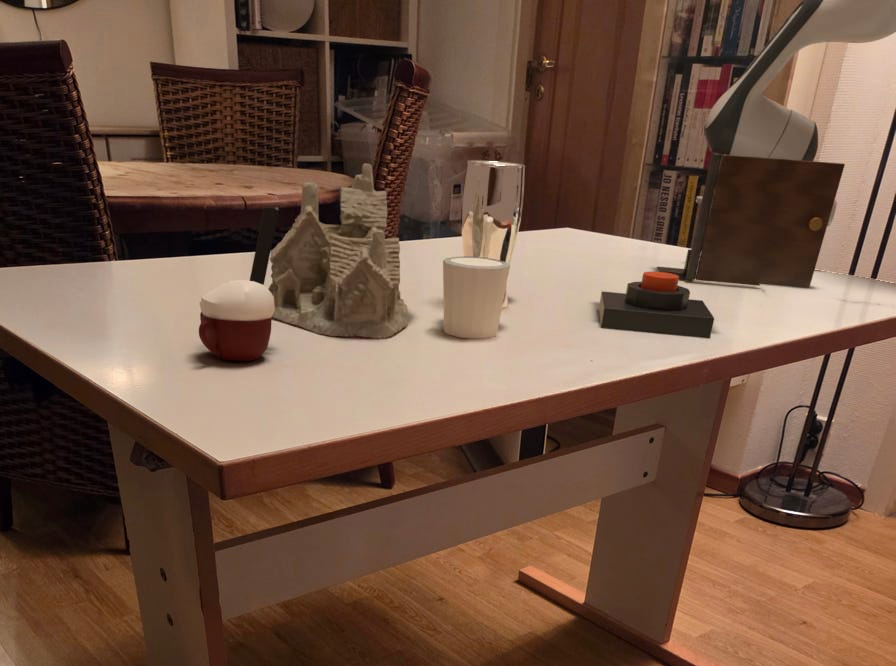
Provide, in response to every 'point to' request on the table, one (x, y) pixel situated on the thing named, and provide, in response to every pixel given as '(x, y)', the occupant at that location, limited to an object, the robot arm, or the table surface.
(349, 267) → the ceramic cottage
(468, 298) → the white cup
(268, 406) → the table surface
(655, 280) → the button
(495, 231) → the beer glass
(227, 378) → the table surface
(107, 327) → the table surface
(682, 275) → the gray angle bracket
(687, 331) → the buzzer
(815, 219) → the door
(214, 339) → the cocoa
